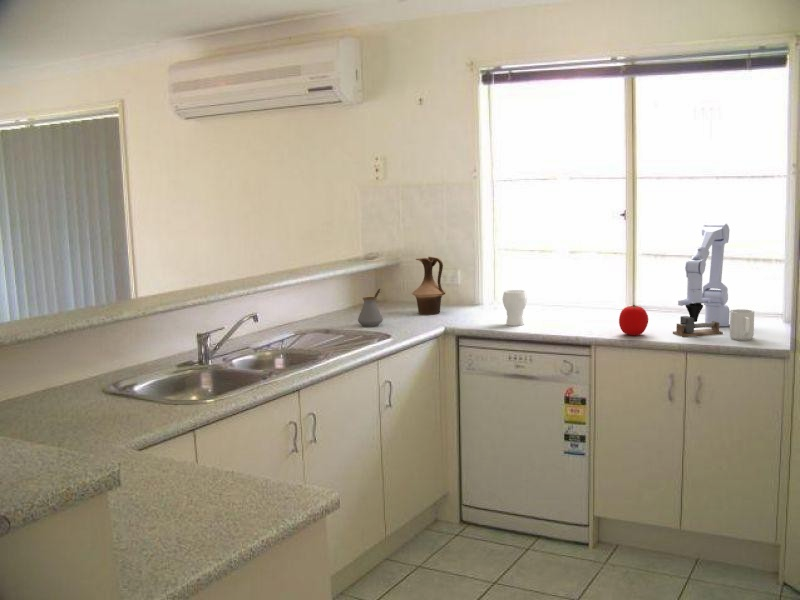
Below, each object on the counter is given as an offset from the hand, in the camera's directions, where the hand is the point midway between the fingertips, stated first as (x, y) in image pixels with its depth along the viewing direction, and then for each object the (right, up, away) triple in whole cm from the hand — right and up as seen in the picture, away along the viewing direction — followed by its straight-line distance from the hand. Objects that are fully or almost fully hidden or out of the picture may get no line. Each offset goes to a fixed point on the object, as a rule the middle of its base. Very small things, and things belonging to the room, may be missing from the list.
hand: (693, 321), depth 350 cm
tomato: (-24, -6, +3) cm, 25 cm away
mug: (+15, -7, -12) cm, 21 cm away
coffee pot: (-133, -2, +46) cm, 141 cm away
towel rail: (+2, -5, +1) cm, 6 cm away
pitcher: (-106, +2, +69) cm, 127 cm away
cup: (-69, -2, +33) cm, 77 cm away
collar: (-3, -4, 0) cm, 5 cm away
